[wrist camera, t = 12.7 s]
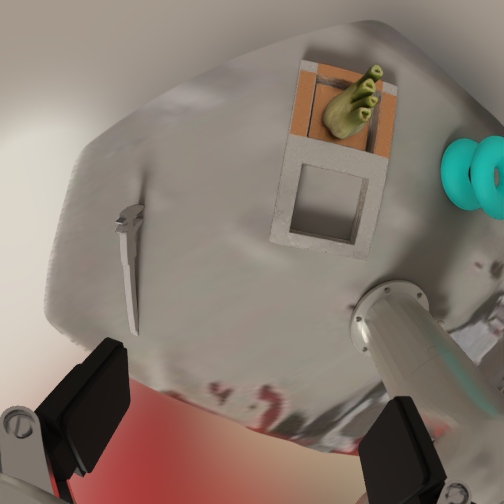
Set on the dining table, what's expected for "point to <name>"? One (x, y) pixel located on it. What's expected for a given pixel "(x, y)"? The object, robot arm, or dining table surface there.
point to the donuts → (475, 175)
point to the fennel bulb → (353, 105)
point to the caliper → (130, 259)
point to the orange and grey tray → (334, 158)
